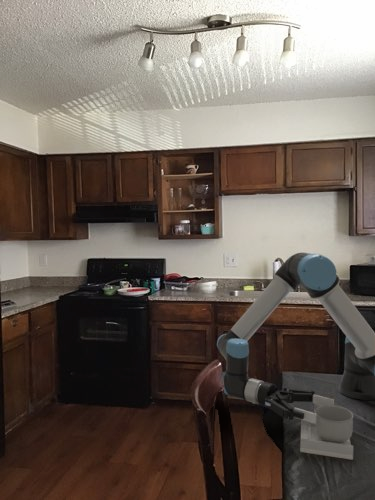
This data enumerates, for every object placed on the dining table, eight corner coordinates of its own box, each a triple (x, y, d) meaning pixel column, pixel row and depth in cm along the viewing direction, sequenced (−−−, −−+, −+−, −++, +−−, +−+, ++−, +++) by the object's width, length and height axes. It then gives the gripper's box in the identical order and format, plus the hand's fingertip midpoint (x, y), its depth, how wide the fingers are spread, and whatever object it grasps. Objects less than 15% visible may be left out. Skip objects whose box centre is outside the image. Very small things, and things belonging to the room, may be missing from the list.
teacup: (360, 446, 120) (361, 418, 120) (324, 449, 119) (325, 420, 118) (335, 424, 134) (336, 399, 134) (302, 426, 133) (303, 401, 132)
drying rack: (301, 427, 136) (301, 416, 136) (347, 433, 132) (348, 422, 132) (300, 451, 121) (300, 439, 121) (352, 459, 117) (353, 446, 117)
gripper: (279, 393, 149) (339, 410, 136) (241, 416, 130) (307, 439, 117) (279, 372, 149) (340, 387, 136) (241, 392, 130) (308, 412, 116)
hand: (325, 411), depth 126 cm, fingers open, 13 cm apart
